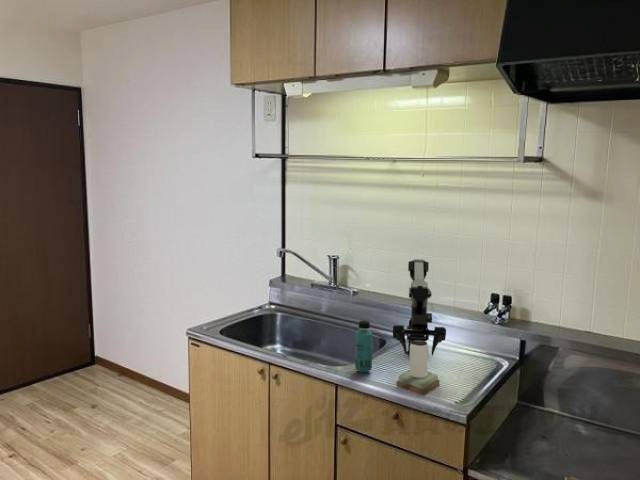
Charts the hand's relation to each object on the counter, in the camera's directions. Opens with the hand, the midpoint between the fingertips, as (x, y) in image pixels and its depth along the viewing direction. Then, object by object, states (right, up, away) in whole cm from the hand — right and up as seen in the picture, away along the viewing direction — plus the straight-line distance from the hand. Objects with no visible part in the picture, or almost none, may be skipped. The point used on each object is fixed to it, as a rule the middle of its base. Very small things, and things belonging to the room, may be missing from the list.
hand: (418, 354), depth 184 cm
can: (0, -8, +2) cm, 8 cm away
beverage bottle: (-18, -10, +15) cm, 26 cm away
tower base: (0, -12, +3) cm, 12 cm away
